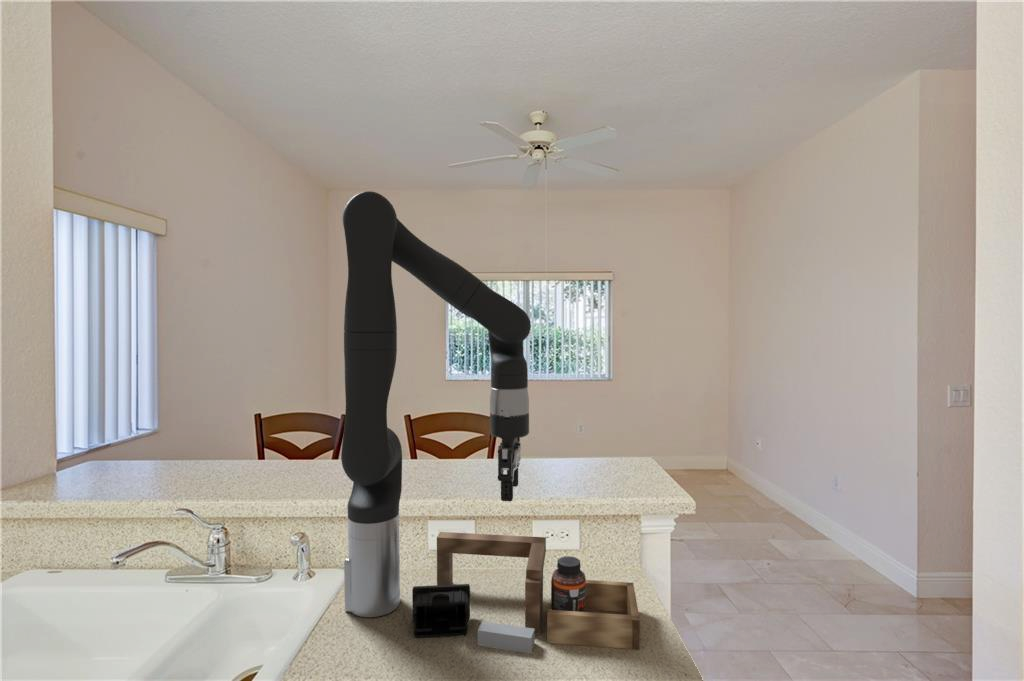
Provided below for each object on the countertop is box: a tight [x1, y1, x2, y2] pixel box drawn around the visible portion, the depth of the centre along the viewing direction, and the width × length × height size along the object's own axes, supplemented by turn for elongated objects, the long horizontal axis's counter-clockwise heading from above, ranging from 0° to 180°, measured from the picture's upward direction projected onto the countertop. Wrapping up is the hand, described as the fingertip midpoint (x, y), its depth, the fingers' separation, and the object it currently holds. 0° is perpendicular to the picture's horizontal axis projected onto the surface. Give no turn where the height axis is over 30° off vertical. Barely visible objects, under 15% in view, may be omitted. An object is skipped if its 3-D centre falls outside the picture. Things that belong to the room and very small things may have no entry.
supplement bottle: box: [550, 555, 587, 612], centre depth 100 cm, size 6×6×11 cm
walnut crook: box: [436, 531, 547, 635], centre depth 105 cm, size 21×15×10 cm
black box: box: [411, 583, 471, 640], centre depth 99 cm, size 10×7×7 cm
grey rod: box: [477, 620, 536, 654], centre depth 94 cm, size 9×3×3 cm, turn 76°
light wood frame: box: [546, 578, 641, 650], centre depth 99 cm, size 15×12×5 cm
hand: (509, 493), depth 110 cm, fingers open, 8 cm apart
